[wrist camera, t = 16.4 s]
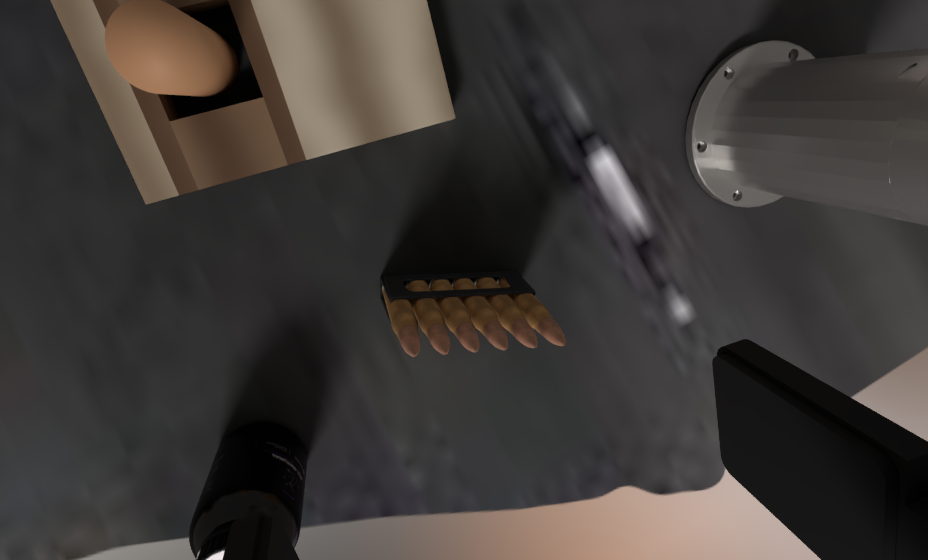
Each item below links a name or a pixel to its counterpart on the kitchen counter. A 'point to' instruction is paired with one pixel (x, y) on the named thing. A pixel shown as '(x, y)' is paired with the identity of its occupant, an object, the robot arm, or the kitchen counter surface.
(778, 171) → the robot arm
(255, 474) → the supplement bottle
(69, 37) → the plywood deck
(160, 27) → the peg
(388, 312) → the ammunition clip
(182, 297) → the kitchen counter surface
